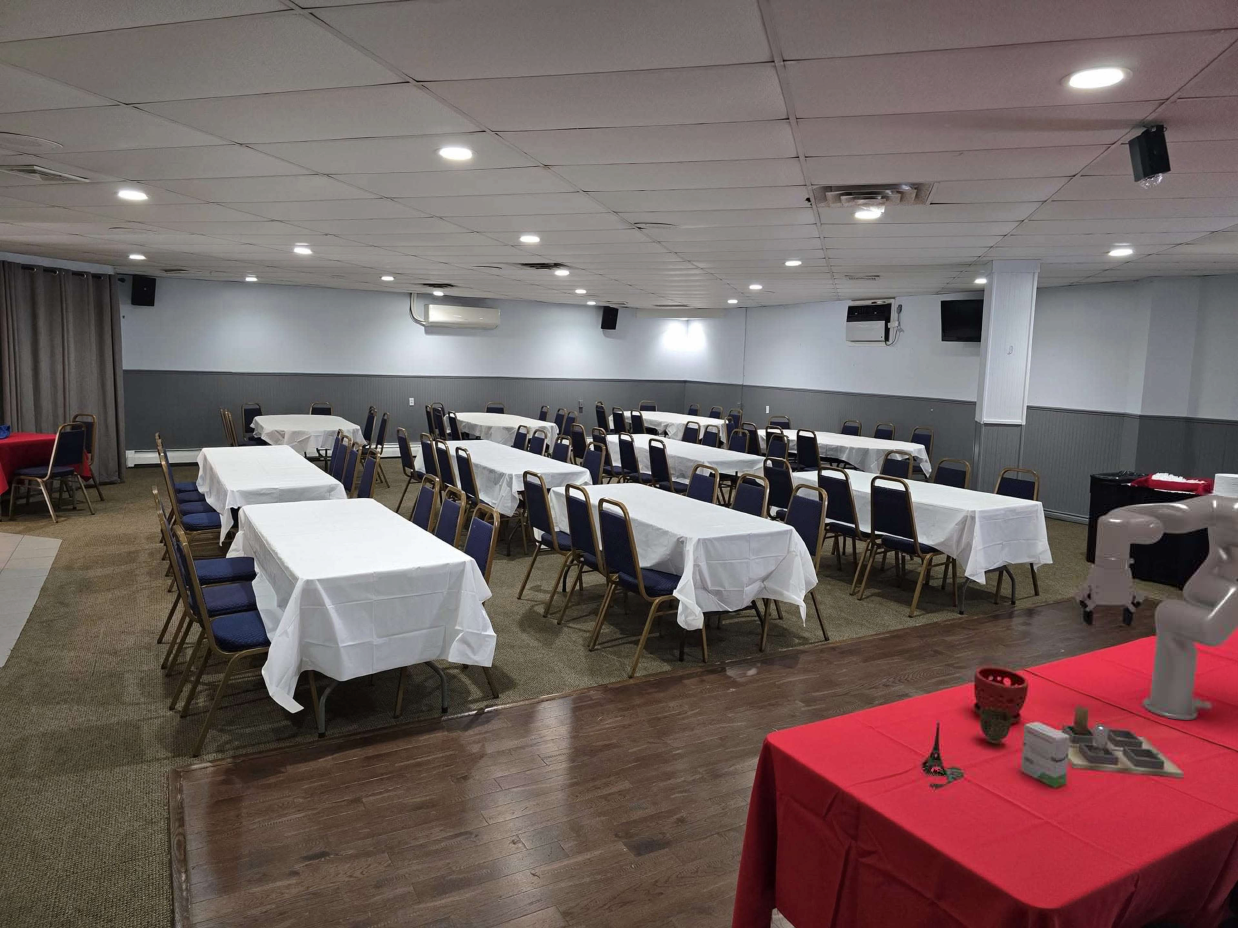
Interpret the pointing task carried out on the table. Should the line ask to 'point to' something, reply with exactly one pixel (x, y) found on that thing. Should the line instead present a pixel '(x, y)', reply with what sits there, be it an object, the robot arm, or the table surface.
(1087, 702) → the table surface
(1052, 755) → the ink box
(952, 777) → the eiffel tower figurine
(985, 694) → the plant pot
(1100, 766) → the board
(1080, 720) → the walnut pin
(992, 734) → the cup
